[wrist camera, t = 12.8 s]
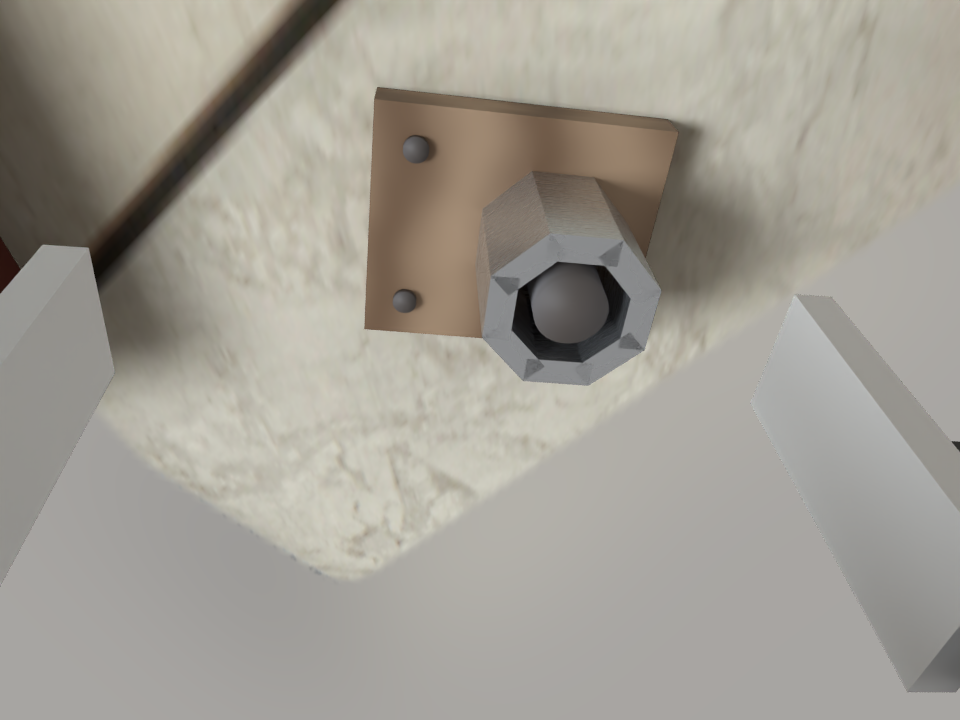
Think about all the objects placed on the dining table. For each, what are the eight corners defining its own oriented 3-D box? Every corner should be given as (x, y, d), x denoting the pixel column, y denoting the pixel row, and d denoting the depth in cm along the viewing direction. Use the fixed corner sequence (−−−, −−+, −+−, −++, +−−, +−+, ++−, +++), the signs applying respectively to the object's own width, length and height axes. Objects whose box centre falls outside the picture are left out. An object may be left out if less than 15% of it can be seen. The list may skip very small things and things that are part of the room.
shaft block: (367, 310, 42) (352, 409, 35) (377, 87, 35) (361, 151, 28) (614, 329, 44) (651, 429, 36) (667, 119, 37) (726, 188, 30)
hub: (470, 300, 40) (476, 377, 34) (487, 166, 36) (497, 228, 30) (605, 311, 40) (633, 388, 35) (636, 181, 37) (674, 244, 31)
